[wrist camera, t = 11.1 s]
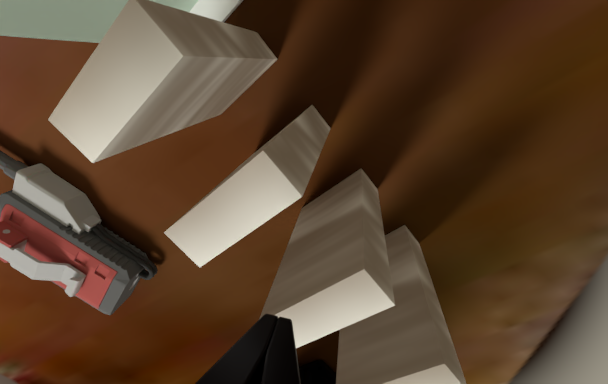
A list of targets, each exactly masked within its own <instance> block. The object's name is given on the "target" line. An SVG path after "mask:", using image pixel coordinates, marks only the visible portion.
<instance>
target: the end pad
mask: <svg viewBox="0 0 608 384" xmlns="http://www.w3.org/2000/svg"><path fill="white" fill-rule="evenodd" d="M242 1H243V0H198V2H197V3H196V4H195V5H194V7H193V8H192V9H191V10H190V13H193V14H197V15H200V16H203V17H207V18H210V19H214V20H217V21H220V22H225V21H226V19H227V18H228V17H229V16H230V15H231V14H232V13H233V11H234V10H235V9H236V8H237V7H238V6H239V5H240V3H241V2H242Z"/></svg>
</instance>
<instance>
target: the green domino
mask: <svg viewBox="0 0 608 384" xmlns="http://www.w3.org/2000/svg"><path fill="white" fill-rule="evenodd" d="M149 1H152V2H156V3H159V4H163V5H166V6H169V7H173V8H176V9H180V10H183V11H186V12H190V10H191V9H192V8H193V7H194V5H195V4H196V3H197V2H198V0H149ZM127 2H128V0H0V36H12V37H26V38H40V39H53V40H67V41H80V42H94V43H100V42H101V40H102V39H103V37H104V36H105V34H106V33H107V31H108V30H109V28H110V27H111V26H112V24H113V23H114V21H115V20H116V18H117V17H118V15H119V14H120V12H121V11H122V9H123V8H124V6H125V5H126V3H127Z"/></svg>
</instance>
